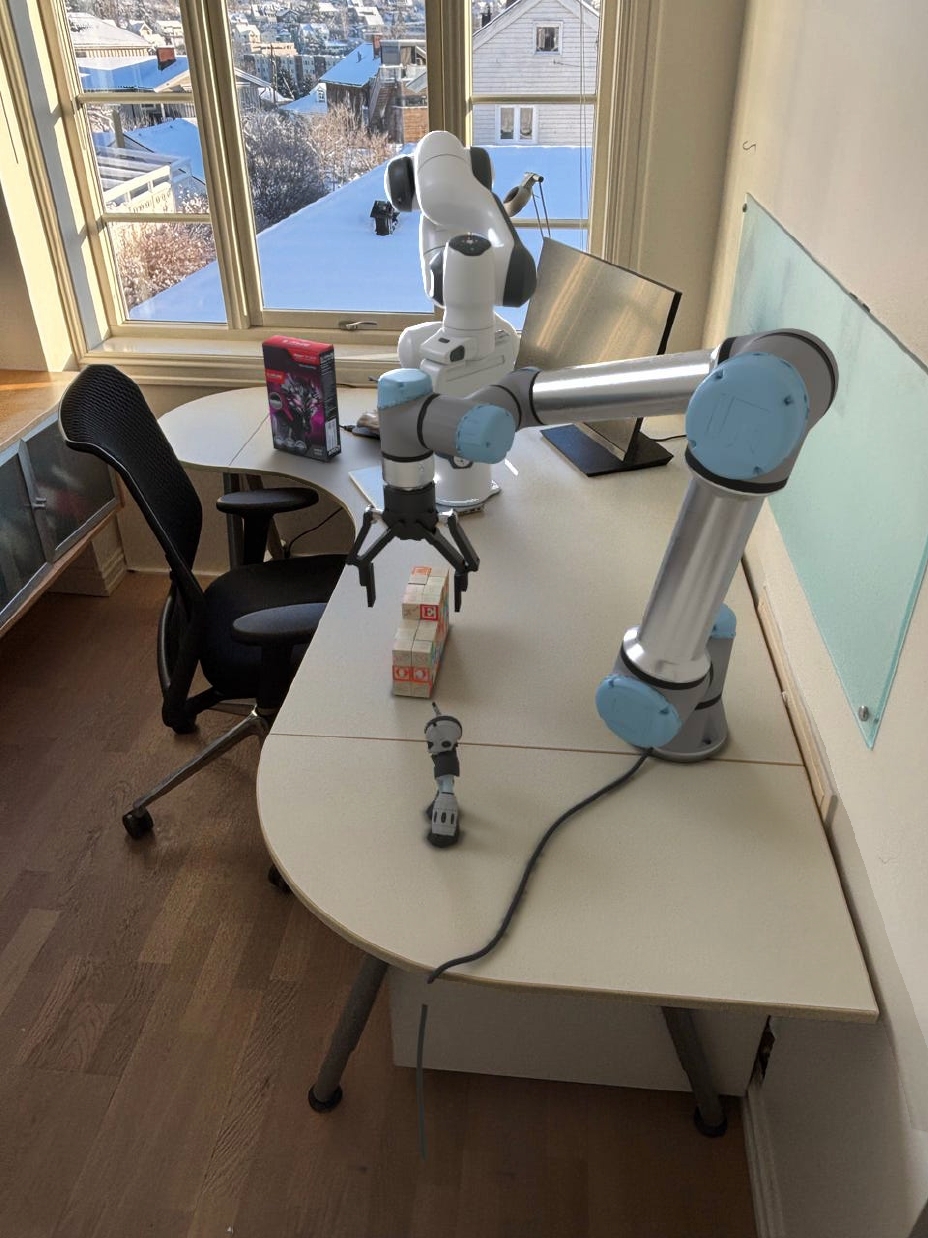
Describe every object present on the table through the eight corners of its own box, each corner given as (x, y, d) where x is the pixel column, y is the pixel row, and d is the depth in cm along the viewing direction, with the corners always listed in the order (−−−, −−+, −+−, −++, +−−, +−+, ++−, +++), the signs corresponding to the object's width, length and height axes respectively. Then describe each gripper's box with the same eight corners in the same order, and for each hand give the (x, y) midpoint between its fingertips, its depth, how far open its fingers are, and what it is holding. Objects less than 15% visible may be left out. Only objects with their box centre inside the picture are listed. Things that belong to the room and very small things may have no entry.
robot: (465, 880, 118) (466, 765, 107) (427, 882, 118) (424, 766, 107) (458, 774, 134) (458, 664, 123) (424, 775, 134) (422, 665, 123)
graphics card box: (271, 449, 231) (258, 341, 215) (288, 440, 236) (276, 333, 220) (327, 463, 224) (318, 352, 209) (343, 453, 229) (336, 344, 214)
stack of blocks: (430, 699, 149) (429, 637, 142) (392, 696, 150) (389, 633, 143) (449, 625, 167) (449, 567, 160) (415, 622, 167) (413, 564, 160)
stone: (340, 433, 232) (345, 409, 229) (362, 424, 245) (367, 402, 243) (418, 457, 228) (423, 433, 226) (436, 447, 241) (441, 425, 239)
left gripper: (497, 323, 164) (495, 398, 172) (412, 348, 152) (414, 427, 160) (523, 331, 161) (520, 407, 168) (438, 357, 149) (439, 437, 156)
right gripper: (498, 472, 134) (496, 597, 145) (330, 465, 136) (342, 588, 148) (493, 495, 127) (492, 623, 139) (317, 487, 130) (330, 613, 142)
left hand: (468, 417), depth 164 cm, fingers open, 8 cm apart
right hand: (414, 605), depth 144 cm, fingers open, 13 cm apart
